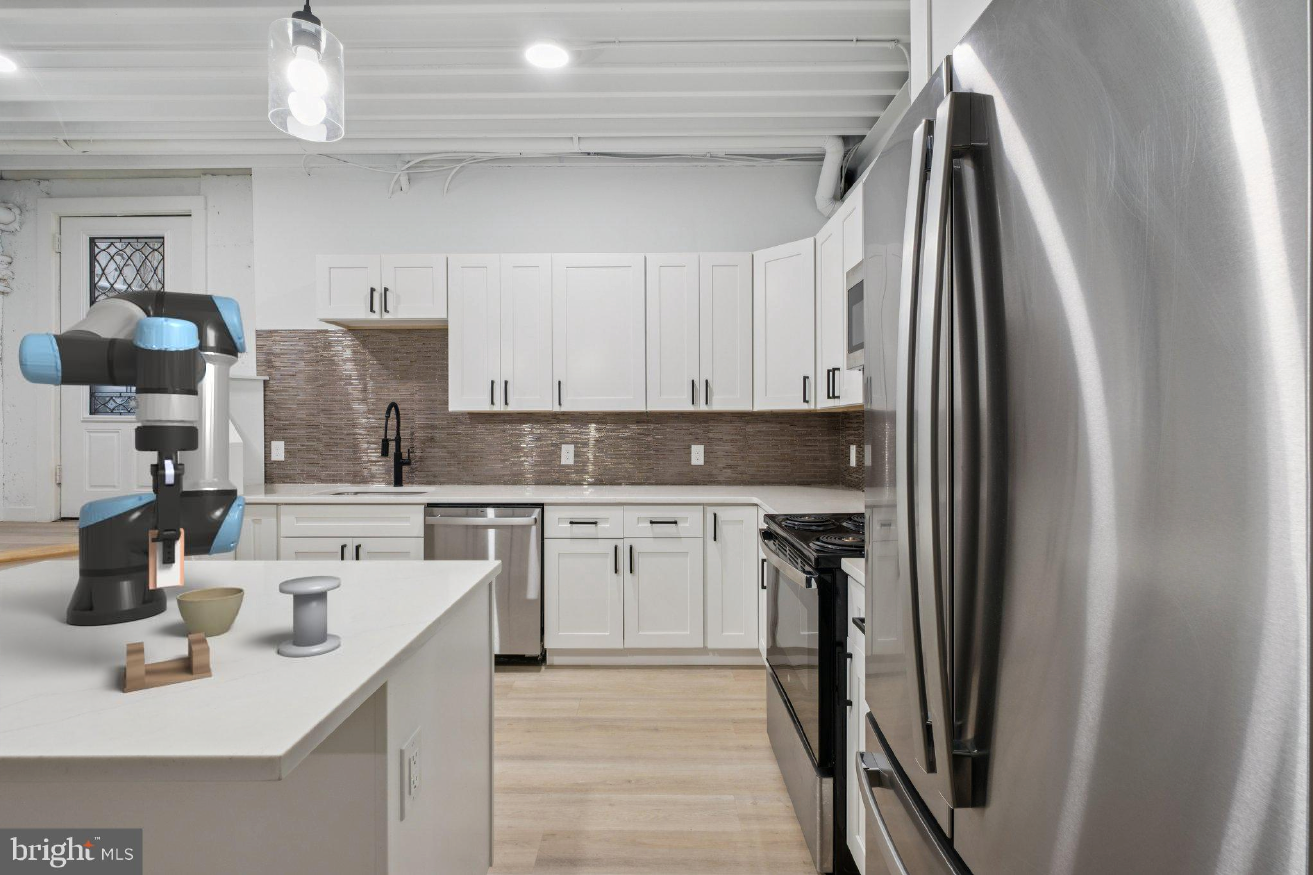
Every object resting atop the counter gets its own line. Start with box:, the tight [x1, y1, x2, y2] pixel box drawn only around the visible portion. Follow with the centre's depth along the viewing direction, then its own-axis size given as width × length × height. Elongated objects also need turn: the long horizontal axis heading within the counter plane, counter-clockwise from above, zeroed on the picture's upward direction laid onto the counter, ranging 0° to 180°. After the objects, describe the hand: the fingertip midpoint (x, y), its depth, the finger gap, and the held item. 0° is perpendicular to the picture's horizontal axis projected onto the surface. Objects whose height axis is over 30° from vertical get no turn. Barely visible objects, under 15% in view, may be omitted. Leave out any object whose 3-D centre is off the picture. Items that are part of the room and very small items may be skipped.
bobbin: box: [278, 575, 341, 658], centre depth 109 cm, size 9×9×11 cm
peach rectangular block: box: [149, 528, 185, 589], centre depth 97 cm, size 4×4×8 cm
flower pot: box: [176, 586, 245, 638], centre depth 117 cm, size 10×10×7 cm
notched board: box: [123, 632, 213, 694], centre depth 97 cm, size 10×10×4 cm
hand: (167, 582), depth 97 cm, fingers closed on peach rectangular block, 4 cm apart
